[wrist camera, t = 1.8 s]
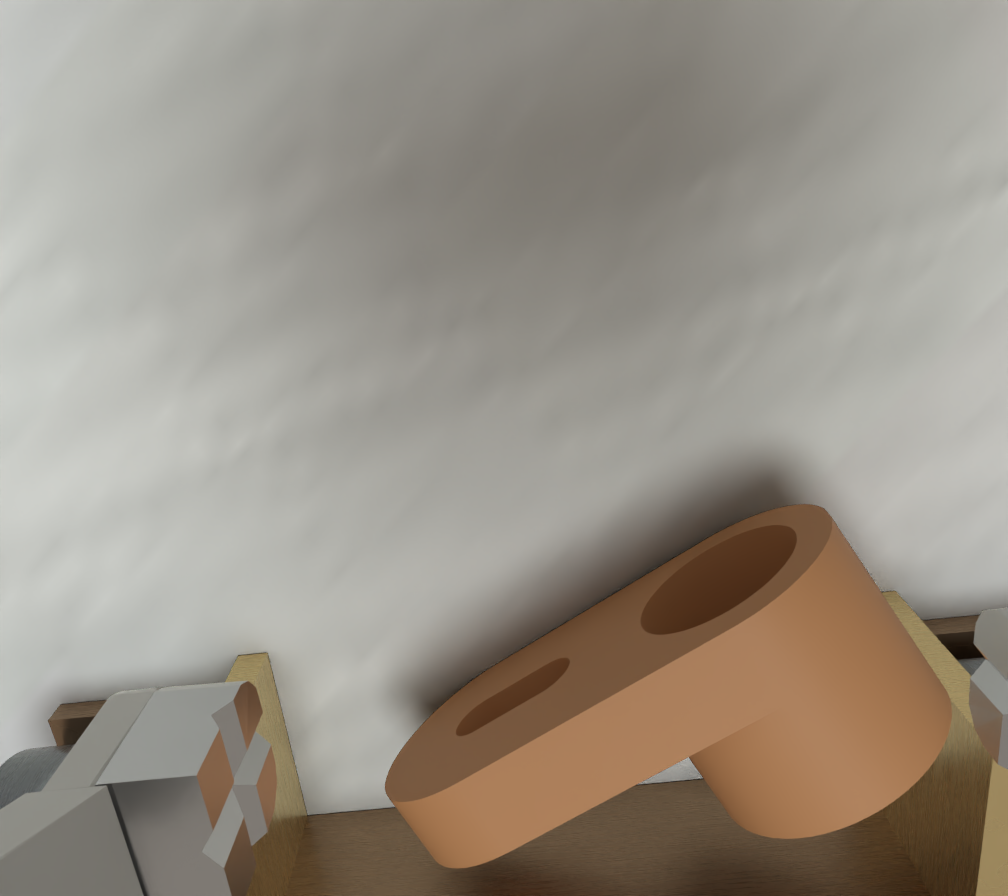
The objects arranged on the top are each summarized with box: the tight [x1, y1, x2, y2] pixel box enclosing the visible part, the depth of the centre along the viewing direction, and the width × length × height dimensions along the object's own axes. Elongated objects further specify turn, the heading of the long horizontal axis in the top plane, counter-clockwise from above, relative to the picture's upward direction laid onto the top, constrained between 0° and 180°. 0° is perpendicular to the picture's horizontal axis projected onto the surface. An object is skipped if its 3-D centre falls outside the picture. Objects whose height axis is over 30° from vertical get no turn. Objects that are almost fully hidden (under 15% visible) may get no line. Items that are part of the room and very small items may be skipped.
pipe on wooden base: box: [0, 591, 1008, 896], centre depth 30 cm, size 10×44×10 cm, turn 96°
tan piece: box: [385, 504, 952, 868], centre depth 29 cm, size 18×8×7 cm
